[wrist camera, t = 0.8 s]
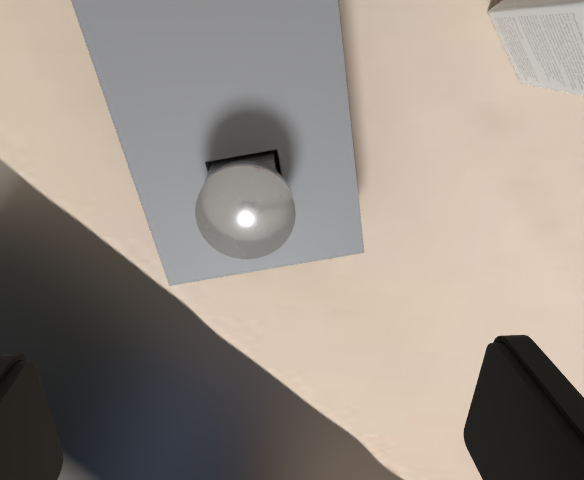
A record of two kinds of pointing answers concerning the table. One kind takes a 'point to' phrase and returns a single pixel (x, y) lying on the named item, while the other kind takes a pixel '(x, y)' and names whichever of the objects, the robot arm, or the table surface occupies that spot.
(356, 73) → the table surface
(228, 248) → the grey plunger
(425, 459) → the table surface
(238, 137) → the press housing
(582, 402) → the robot arm
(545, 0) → the skincare box
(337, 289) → the table surface
